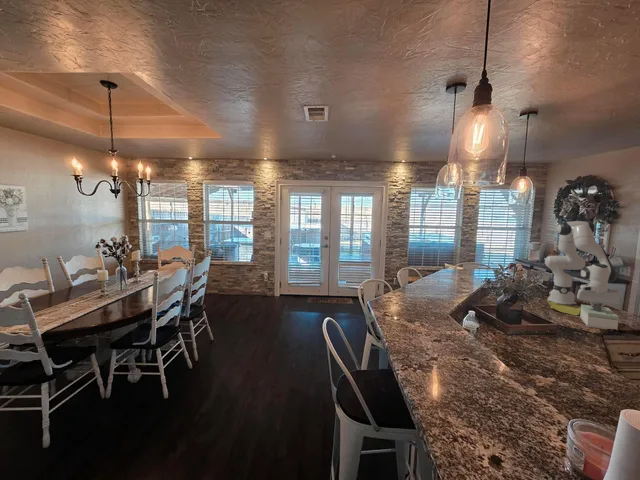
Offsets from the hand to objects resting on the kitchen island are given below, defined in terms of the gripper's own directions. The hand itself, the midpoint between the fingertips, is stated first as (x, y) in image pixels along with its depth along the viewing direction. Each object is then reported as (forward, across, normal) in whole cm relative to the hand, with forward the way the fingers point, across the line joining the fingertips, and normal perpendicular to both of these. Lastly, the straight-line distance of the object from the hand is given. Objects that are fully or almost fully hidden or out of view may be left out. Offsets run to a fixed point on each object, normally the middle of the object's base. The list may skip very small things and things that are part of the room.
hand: (596, 308), depth 191 cm
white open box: (+10, -1, 0) cm, 11 cm away
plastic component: (+11, +14, -21) cm, 27 cm away
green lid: (+3, -1, 0) cm, 3 cm away
